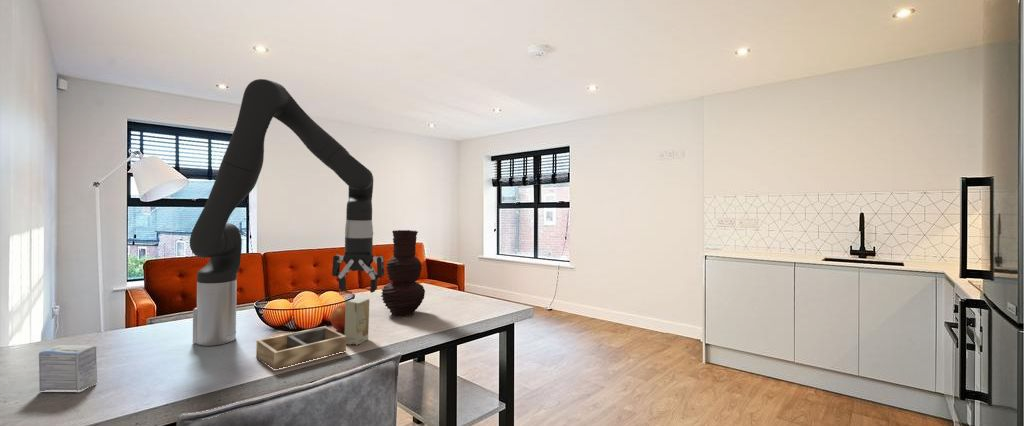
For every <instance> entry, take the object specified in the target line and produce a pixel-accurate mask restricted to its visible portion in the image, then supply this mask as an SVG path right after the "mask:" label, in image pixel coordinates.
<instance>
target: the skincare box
mask: <svg viewBox="0 0 1024 426" xmlns="http://www.w3.org/2000/svg"><path fill="white" fill-rule="evenodd" d="M345 305H346V307H345V331H344V335H345V336H346V345H351V344H356V345H355V346H358V344H359V345H360V344H362V343H364V342H366V341H367V340H369V324H370V299H369V298H365V297H364V298H363V297H355V298H353V299H350V300H348V301H345ZM365 340H366V341H365ZM363 341H364V342H363Z"/></svg>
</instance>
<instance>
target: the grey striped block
mask: <svg viewBox="0 0 1024 426" xmlns="http://www.w3.org/2000/svg"><path fill="white" fill-rule="evenodd" d="M97 357H98V356H97V346H96V345H81V344H79V345H76V344H72V345H71V344H69V345H68V344H67V345H66V344H60V345H55V346H52V347H50V348H47V349H45V350H42V351H39V352H38V374H39V375H38V378H39V379H38V380H39V381H38V382H39V383H38V384H39V386H38V387H39V388H38V389H39V392H40V391H45V390H77V391H78V390H82V389H85V388H87V387H90V386H92V385H94V384H96V383H97V384H98V369H97V368H98V367H97V366H98V365H97ZM97 384H96V385H97ZM92 387H93V386H92ZM90 388H91V387H90Z"/></svg>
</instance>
